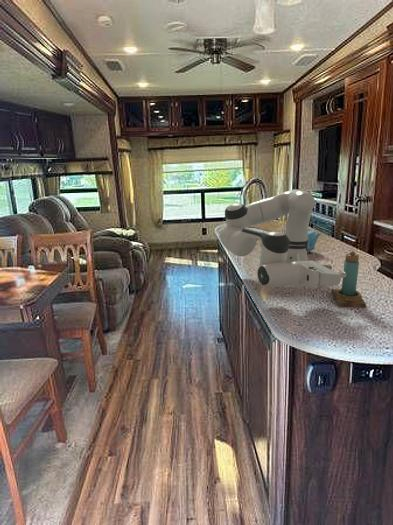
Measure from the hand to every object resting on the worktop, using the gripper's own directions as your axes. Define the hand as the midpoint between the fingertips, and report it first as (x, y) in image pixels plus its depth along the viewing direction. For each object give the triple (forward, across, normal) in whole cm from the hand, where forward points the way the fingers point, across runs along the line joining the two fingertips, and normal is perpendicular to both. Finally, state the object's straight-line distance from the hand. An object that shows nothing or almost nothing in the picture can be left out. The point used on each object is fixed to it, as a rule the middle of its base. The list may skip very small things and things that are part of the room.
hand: (337, 270), depth 130 cm
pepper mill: (+6, 0, -11) cm, 12 cm away
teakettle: (+26, -78, -13) cm, 83 cm away
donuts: (0, -66, -13) cm, 67 cm away
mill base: (+6, -1, -12) cm, 14 cm away
